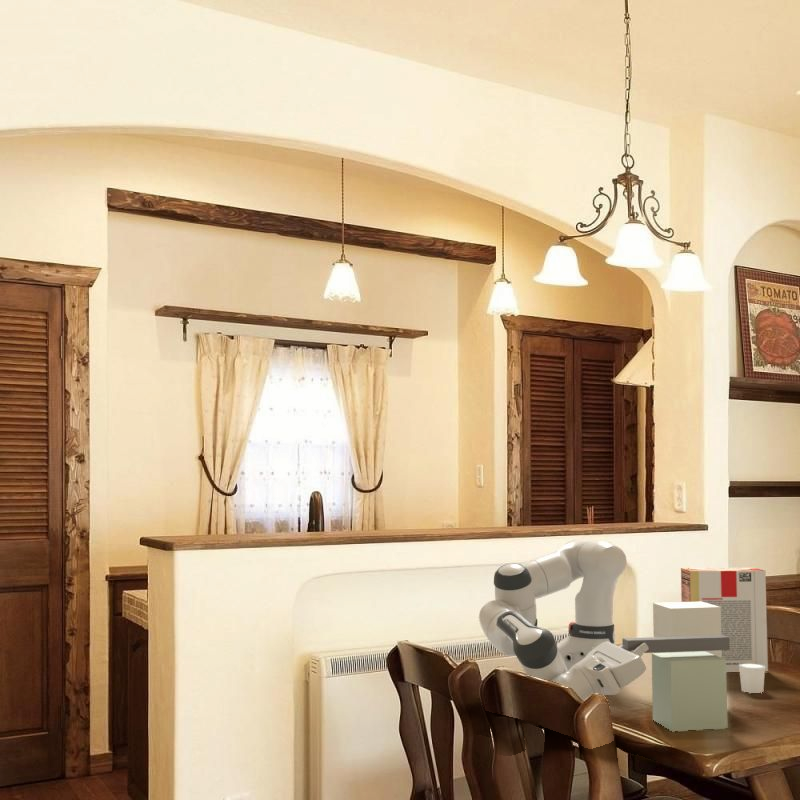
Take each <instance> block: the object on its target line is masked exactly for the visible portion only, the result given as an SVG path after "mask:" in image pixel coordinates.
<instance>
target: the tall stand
mask: <svg viewBox="0 0 800 800" xmlns="http://www.w3.org/2000/svg"><path fill="white" fill-rule="evenodd" d="M652 614H653V616H652V619H653V621H652V623H653V625H652V626H653V627H652V628H653V637H679V636H710V635H721V607H719V606H715V605H712V604H709V603H705V602H702V601H701V602H682V601H675V602H673V601H672V602H670V601H669V602H653V603H652ZM686 652H698V651H686ZM706 652H708V653H711V654H713V655H716V656H718V657H721V658H722V650H715V651H706ZM658 653H672V652H658Z"/></svg>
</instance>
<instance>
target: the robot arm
mask: <svg viewBox="0 0 800 800" xmlns="http://www.w3.org/2000/svg"><path fill="white" fill-rule="evenodd" d="M627 562H628V561H627V556H626V553H625V552H624V550H623V549H622V548H620V547H619V546H617V545H616V544H614V543H611V542H610V541H609V542H608V541H602V540H595V539H589V538H578V539H573V540H570V541H567V543H565V545H563V546H562V547H560V548H559V549H557V550H555V551H553V552H551V553H548V554H546V555H545V554H544V555H543V556H540V557H537V558H534V559H530V560H528V561H526V562H523V563H521V564H520V563H517V562H516V563H515V562H514V563H513V562H511V563H506V564H503V565H501V566H500V567H498V568H497V570H495V572H494V575H493V585H494V599H495V600H494V599H493V600H491V601H488V602H486V603H485V604H484V605H483V606H482V607H481V609H480V610H479V614H478V622H479V625H480V627H481V629H482V632H483V634H484V635H485V637H486V638H487V640H488V641H489V642H490V644H491V645H492V646H493V647H494V649H496V650H497V651H498V652H499V653H501V654H503V655H505V656H509V657H513V656H515V657H516V659H517V660H518V661H519V664H520V665H521V667H522V669H523V671H524V674H525V675H526V674H527V675H531V676H535V677H538V678H541V679H546V680H550V681H553V682H556V683H559V684H561V685H564V686H567V687H570V688H572V689H573V690H574V691H575V692H576V693H577V694H578V696H579V697H580V698H581V699H582V700H583V701H584V700H585V699H586V698H587V697H589V696H590V695H592V694H595V693H600V694H602V695H603V696H606V695H608V696H616V695H618V694H619V693H620V692H621V691H622V690H621V689H622V688H623V687H626V686H628V685H629V684H631V683H632V682H634V681H635V680H637V679H638V678H639V677H641V675H643V674H644V673H645V671H646V670H647V666H646V663H645V662H644V661H643V659H642V656H643V655H644V654H645V653H644V652H646V651H647V650H648V649H649V648H648V646H647V644H646V643H644V642H642V643H640V644H639V645H637V646H638V647H637V648H636V649H635V650H632V651H627V650H625V649H623V644H622V643H621V644H619V645H616V644H615V642H616V628H615V624H614V623H613V622H614V617H613V616H614V614H613V613H614V611H613V610H614V607H613V606H614V594H615V590H616V588H617V587H616V586H617V583H618V580H619V578H620V577H621V575H622V574H623V573H624V572H625V570H626V568H627ZM582 578H583V579H582ZM579 579H582V584H581V586H580V589H579V592H577V594H576V595H575V598H574V617H575V618H574V621H571V622H569V624H568V628H567V629H568V634H569V635H568V636H566V637H565V638H563V639H562V640H561V641H559V642H558V643H557V642H556V639H555V637H554V634H553V633H552V632H551V631H550V630H549V629H546V628H543V627H539V626H538V619H537V602H536V600H537V599H541V598H543V597H544V598H545V597H546V596H549V595H552V594H555V593H557V592H560V591H562V590H565V589H567V588H569V587H570V586H571V584H572V583H574V582H575V581H577V580H579ZM527 675H526V676H527Z"/></svg>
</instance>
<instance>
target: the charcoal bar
mask: <svg viewBox="0 0 800 800" xmlns="http://www.w3.org/2000/svg"><path fill="white" fill-rule="evenodd" d="M621 640H622V643H621V644H623V649H625V650H627V651H632V650H635V649H636V648H637V647H638V646H637V645H639V644H640V643H642V642H644V643H646V644H647V646H648V648H649V649H648V650H647V651H646V652H644V653H643V654H652V653H658V652H686V651H715V650H730V644H729V637H727V636H724V635H710V636H679V637H654V636H651V637H650V636H649V637H648V636H647V637H623V638H622V639H621Z"/></svg>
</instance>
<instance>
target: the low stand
mask: <svg viewBox="0 0 800 800" xmlns="http://www.w3.org/2000/svg"><path fill="white" fill-rule="evenodd" d="M651 682H652V683H651V686H652V688H651V691H652V693H651V695H652V697H651V698H652V701H651V702H652V721H653V720H654V721H653V722H655V721H656V722H657V724H658V723H659V724H658V725H660V724H661V725H662V727H663V726H664V727H663V728H665V729H666V728H667V729H666V730H668V729H669V730H668V731H669V732H671V731H672V732H671V733H675V731H678V732H689V731H688V730H696V731H704V730H703V729H714V730H726V729H725V728H728V695H727V694H728V691H727V688H728V687H727V685H728V684H727V673H726V659H724V658H721V657H718V656H716V655H713V654H711V653H708V652H706V651H698V652H672V653H651ZM656 722H655V723H656ZM661 725H660V726H661Z"/></svg>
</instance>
